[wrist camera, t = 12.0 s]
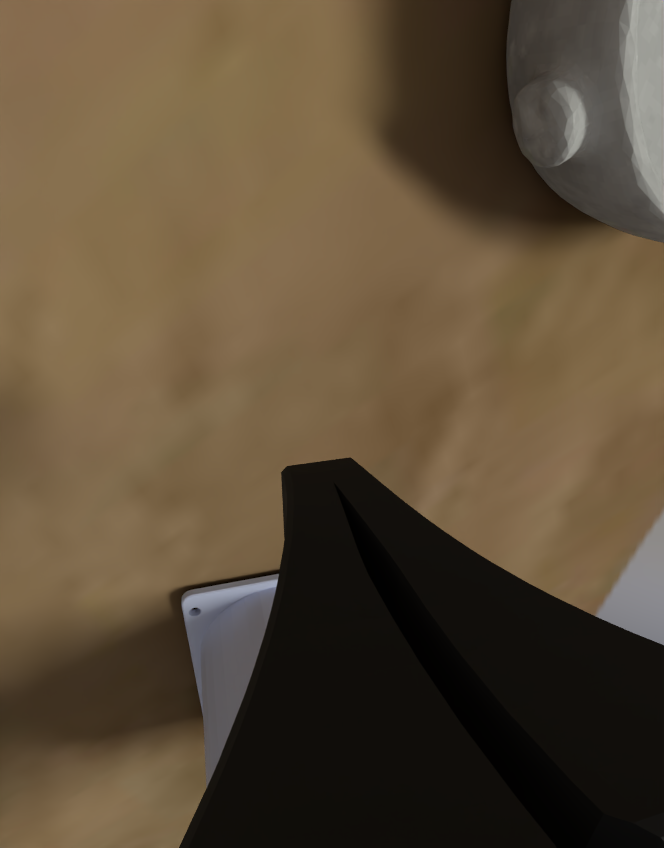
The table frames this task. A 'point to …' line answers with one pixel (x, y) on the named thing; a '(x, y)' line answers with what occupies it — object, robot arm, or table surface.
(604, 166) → the dish
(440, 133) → the table surface
